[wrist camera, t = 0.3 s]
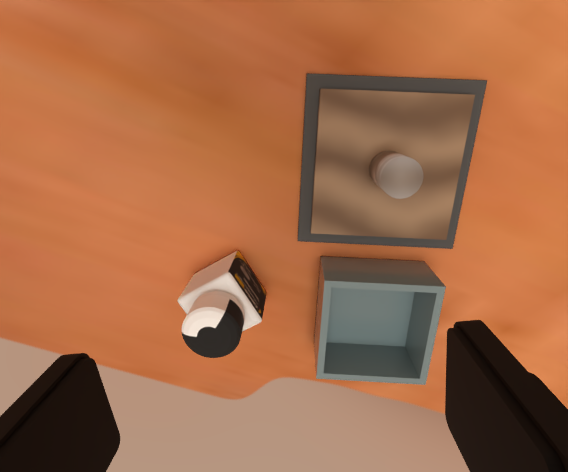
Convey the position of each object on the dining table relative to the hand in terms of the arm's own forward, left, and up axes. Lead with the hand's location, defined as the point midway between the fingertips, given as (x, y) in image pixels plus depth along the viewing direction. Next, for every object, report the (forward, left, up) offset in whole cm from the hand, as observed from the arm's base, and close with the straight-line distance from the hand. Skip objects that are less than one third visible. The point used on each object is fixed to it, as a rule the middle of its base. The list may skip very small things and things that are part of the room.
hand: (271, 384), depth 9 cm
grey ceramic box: (+17, +11, -35) cm, 40 cm away
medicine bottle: (+15, -7, -35) cm, 39 cm away
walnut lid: (-1, +11, -34) cm, 36 cm away
